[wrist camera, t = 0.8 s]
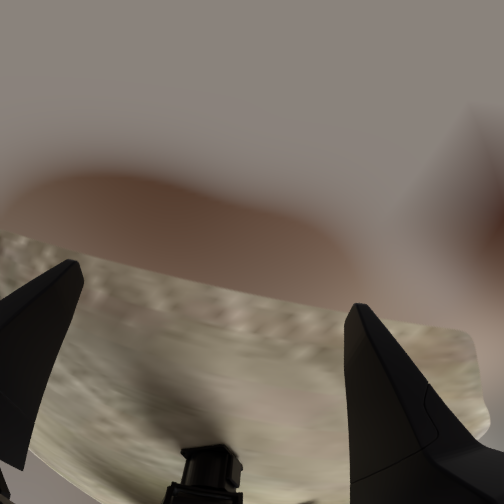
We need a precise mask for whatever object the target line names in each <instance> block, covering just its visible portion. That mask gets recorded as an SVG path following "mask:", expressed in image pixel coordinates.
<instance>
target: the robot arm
mask: <svg viewBox="0 0 504 504" xmlns="http://www.w3.org/2000/svg"><path fill="white" fill-rule="evenodd" d="M83 285H84V278H83V275H82V271H81V268H80V265H79V263H78V261H76V260H71V259H67V260H65V261H63V262H61V263H60V264H58V265H56V266H55V267H53V268H51V269H50V270H48V271H46V272H45V273H43V274H41V275H40V276H38V277H36V278H35V279H33V280H31V281H30V282H28V283H27V284H25V285H23V286H22V287H20V288H19V289H17V290H16V291H14V292H13V293H11V294H9V295H8V296H6V297H5V298H3V299H2V300H0V460H2V461H3V462H5V463H7V464H9V465H11V466H13V467H15V468H17V469H19V470H21V471H23V469H24V465H25V461H26V456H27V451H28V447H29V443H30V439H31V435H32V431H33V428H34V424H35V423H34V422H35V420H36V417H37V413H38V410H39V407H40V403H41V400H42V397H43V394H44V391H45V388H46V385H47V382H48V379H49V376H50V374H51V371H52V368H53V365H54V363H55V360H56V358H57V355H58V352H59V350H60V347H61V345H62V342H63V340H64V338H65V335H66V333H67V330H68V328H69V326H70V323H71V320H72V318H73V315H74V311H75V308H76V305H77V303H78V300H79V297H80V294H81V291H82V288H83ZM344 376H345V387H346V400H347V414H348V430H349V453H350V504H504V452H501V451H498V450H495V449H491V448H488V447H486V446H484V445H482V444H481V443H479V442H478V441H477V440H476V439H475V438H474V437H473V436H472V435H471V434H470V432H469V431H468V430H467V429H466V428H465V427H464V425H463V424H462V423H461V422H460V421H459V420H458V418H457V417H456V416H455V415H454V414H453V413H452V411H451V410H450V409H449V408H448V407H447V405H446V404H445V403H444V402H443V401H442V399H441V398H440V397H439V395H438V394H437V393H436V391H435V390H434V389H433V387H432V386H431V385H430V384H428V381H427V379H426V378H425V377H424V375H423V374H422V373H421V372H420V370H419V369H418V368H417V366H416V365H415V364H414V362H413V361H412V360H411V358H410V357H409V356H408V355H407V353H406V352H405V351H404V349H403V348H402V347H401V346H400V344H399V343H398V342H397V341H396V339H395V338H394V337H393V336H392V334H391V333H390V332H389V331H388V329H387V328H386V327H385V326H384V324H383V323H382V322H381V321H380V319H379V318H378V317H377V316H376V315H375V313H374V312H373V311H372V310H371V308H370V307H369V306H368V305H367V304H362V303H355V304H353V306H352V308H351V310H350V312H349V314H348V316H347V318H346V320H345V324H344ZM181 454H182V455H183V457H184V458H185V459H186V463H185V467H184V471H183V475H182V479H181V484H178V483H177V482H172V484H171V486H168V487H167V491H166V494H165V497H164V499H163V501H162V503H161V504H243V493H242V492H238V493H236V488H239V486H240V475H241V471H242V470H243V466H242V465H241V463H240V462H239V461H238V460H237V459H236V457H235V456H234V455H232V453H231V452H230V451H229V450H228V448H227V447H226V446H225V445H214V446H207V447H199V448H190V449H182V450H181ZM10 495H11V494H10V492H9V489H8V487H7V484H6V482H5V479H4V477H3V474H2V471H1V469H0V504H14V503H13V502H11V501H10V500H9V499H10Z"/></svg>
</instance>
